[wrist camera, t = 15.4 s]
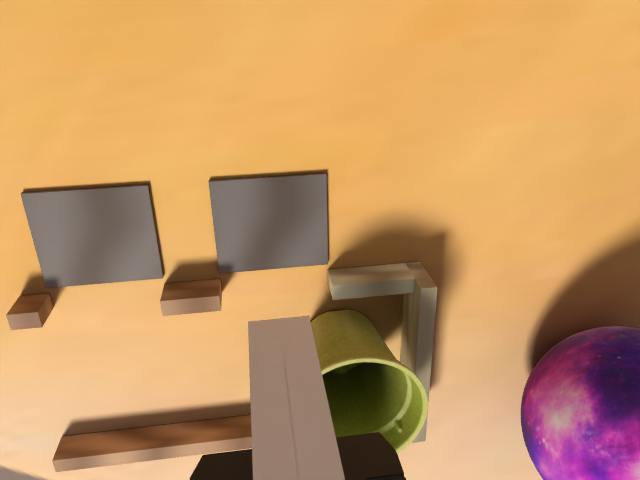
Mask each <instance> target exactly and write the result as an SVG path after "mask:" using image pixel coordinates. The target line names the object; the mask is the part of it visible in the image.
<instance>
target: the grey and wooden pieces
mask: <svg viewBox="0 0 640 480" xmlns="http://www.w3.org/2000/svg"><path fill="white" fill-rule="evenodd" d="M209 189H210V197H211V206H212V215H213V223H214V232H215V241H216V249H217V258H218V267H219V273H231V272H242V271H254V270H266V269H278V268H290V267H301V266H313V265H325V264H328V234H327V182H326V173H315V174H299V175H284V176H268V177H253V178H237V179H222V180H209ZM21 197H22V201H23V205H24V208H25V212H26V216H27V219H28V223H29V227H30V230H31V234H32V238H33V241H34V245H35V249H36V252H37V256H38V260H39V263H40V267H41V271H42V274H43V278H44V282H45V285H46V288H53V287H65V286H77V285H89V284H101V283H112V282H124V281H136V280H148V279H160V278H163V270H162V264H161V258H160V252H159V246H158V240H157V234H156V228H155V222H154V216H153V210H152V204H151V198H150V192H149V186H148V184H145V185H130V186H114V187H99V188H83V189H68V190H52V191H37V192H22V193H21ZM328 285H329V289H330V292H331V295H332V298H333V300H341V299H352V298H363V297H374V296H385V295H395V294H403V314H402V334H401V355H400V363H401V364H403V365H405V366H407V367H408V368H409V369H411V370H412V371H413V372H414V373H415V374H416V375H417V376H418V378H419V379H420V381H421V382H422V384H423V386H424V388H425V390H426V393H427V398H428V401H429V388H430V376H431V363H432V350H433V338H434V325H435V312H436V300H437V286H436V284H435V283H434V281H433V280H432V278H431V277H430V275H429V274H428V272H427V271H426V269H425V268H424V267H423V265H422V264H421V262H409V263H398V264H386V265H374V266H363V267H351V268H339V269H328ZM221 300H222V289H221V281H220V279H211V280H199V281H188V282H176V283H165V284H164V288H163V292H162V296H161V300H160V303H161V309H162V314H163V316H168V315H179V314H190V313H201V312H212V311H221ZM52 309H53V304H52V300H51V297H50V293H48V294H36V295H24V296H19V298H18V299H17V301H16V302H15V303H14V305H13V306H12V308H11V309H10V310H9V312H8V313H7V315H6V316H7V319H8V322H9V325H10V328H11V330H17V329H28V328H39V327H43V325H44V323H45V321H46V320H47V318H48V316H49V315H50V313H51V311H52ZM427 414H428V411H427ZM426 426H427V416H426V420H425V422H424V424H423V427H422V428H421V430H420V432H419V434H418V435H417V436H416V438H415V439H414V440H413V441H412V442H411V443H413V442H421V441H425V439H426ZM249 448H252V430H251V415H245V416H236V417H227V418H219V419H210V420H201V421H193V422H184V423H175V424H167V425H158V426H149V427H141V428H132V429H123V430H114V431H106V432H97V433H88V434H80V435H71V436H62V438H61V440H60V443H59V445H58V448H57V450H56V453H55V455H54V458H53V460H52V461H53V464H54V468H55V471H56V472H60V471H69V470H77V469H85V468H93V467H101V466H109V465H118V464H126V463H134V462H142V461H150V460H159V459H167V458H175V457H183V456H191V455H199V454H208V453H216V452H224V451H232V450H240V449H249Z"/></svg>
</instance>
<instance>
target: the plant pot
mask: <svg viewBox="0 0 640 480" xmlns="http://www.w3.org/2000/svg"><path fill="white" fill-rule="evenodd" d="M310 323H311V327H312V332H313V336H314V341H315V345H316V350H317V354H318V359H319V364H320V368H321V373H322V377H323V382H324V386H325V391H326V395H327V400H328V404H329V409H330V414H331V418H332V423H333V427H334V432H335V436H336V437H342V436H350V435H358V434H366V433H375V432H380V433H381V434H382V436H383V437H384V438H385V439H386V440H387V441H388V442H389V443H390V444H391V445H392V447H393V448H394V449H395V450H396V452H397V453H399V452H401V451H402V450H403V449H404V448H406V447H407V446H408V445H409V444H410V443H411V442H412V441H413V440H414V439H415V438H416V436H417V435H418V434H419V432H420V430H421V428H422V427H423V424H424V422H425V420H426V416H427V411H428V398H427V393H426V390H425V388H424V386H423V384H422V382H421V381H420V379H419V378H418V376H417V375H416V374H415V373H414V372H413V371H412V370H411V369H409V368H408V367H407V366H405V365H403V364H401V363H400V362H399V361H398V360H396V359H395V357H394V356H393V354H392V353H391V351H390V350H389V348H388V347H387V345H386V344H385V342H384V341H383V339H382V338H381V336H380V335H379V333H378V332H377V330H376V329H375V327H374V326H373V324H372V323H371V321H370V320H369V319H368V318H367V317H366V316H364V315H363V314H361V313H359V312H357V311H354V310H349V309H345V310H340V311H328V312H325V313H323V314H321V315H319V316H318V317H316V318H315V319H314V320H312V321H311V322H310Z"/></svg>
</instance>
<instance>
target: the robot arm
mask: <svg viewBox="0 0 640 480" xmlns="http://www.w3.org/2000/svg"><path fill="white" fill-rule="evenodd" d="M248 333H249V365H250V398H251V430H252V449H248V450H240V451H232V452H224V453H216V454H208V455H203V456H202V458H201V459H200V461H199V463H198V465H197V466H196V468H195V470H194V472H193V474H192V475H191V477H190V480H406V478H405V477H404V472H403V469H402V466H401V464H400V461H399V458H398V455H397V452H396V450H395V449H394V448H393V447H392V445H391V444H390V443H389V442H388V441H387V440H386V439H385V438H384V437H383V436H382V434H381V433H380V432H375V433H366V434H358V435H350V436H342V437H336V436H335V432H334V427H333V423H332V418H331V414H330V409H329V404H328V400H327V395H326V391H325V386H324V382H323V377H322V373H321V368H320V364H319V359H318V354H317V350H316V345H315V341H314V336H313V332H312V327H311V323H310V318H309V316H303V317H292V318H282V319H271V320H261V321H250V322H248Z"/></svg>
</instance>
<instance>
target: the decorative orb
mask: <svg viewBox="0 0 640 480" xmlns="http://www.w3.org/2000/svg"><path fill="white" fill-rule="evenodd" d="M521 426H522V432H523V437H524V441H525V444H526V447H527V450H528V452H529V455H530V458H531V459H532V461H533V463H534V465H535V467H536V469H537V471H538V472H539V474H540V475H541V477H542V478H543V480H640V328H635V327H625V326H608V327H599V328H593V329H589V330H585V331H582V332H579V333H577V334H574V335H572V336H570V337H568V338H566V339H564V340H562V341H561V342H559V343H558V344H556V345H555V346H554V347H552V348H551V349H550V350H549V351H548V352H547V353H546V354H545V355H544V356H543V357H542V358H541V359H540V360H539V361H538V363H537V364H536V366H535V367H534V369H533V370H532V372H531V374H530V376H529V378H528V380H527V383H526V386H525V388H524V392H523V397H522V403H521Z"/></svg>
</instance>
